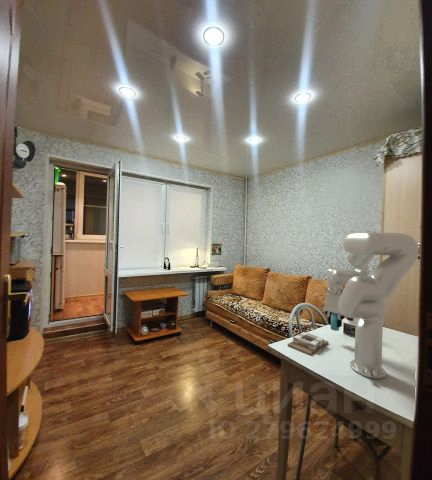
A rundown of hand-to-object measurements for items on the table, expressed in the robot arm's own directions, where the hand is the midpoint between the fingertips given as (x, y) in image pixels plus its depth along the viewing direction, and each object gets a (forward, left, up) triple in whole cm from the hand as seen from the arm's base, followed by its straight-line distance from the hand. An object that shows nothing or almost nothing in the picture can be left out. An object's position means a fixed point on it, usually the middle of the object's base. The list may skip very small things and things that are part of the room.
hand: (334, 325), depth 120 cm
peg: (0, 0, -2) cm, 2 cm away
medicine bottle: (+17, -10, -9) cm, 21 cm away
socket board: (-10, +12, -9) cm, 18 cm away
